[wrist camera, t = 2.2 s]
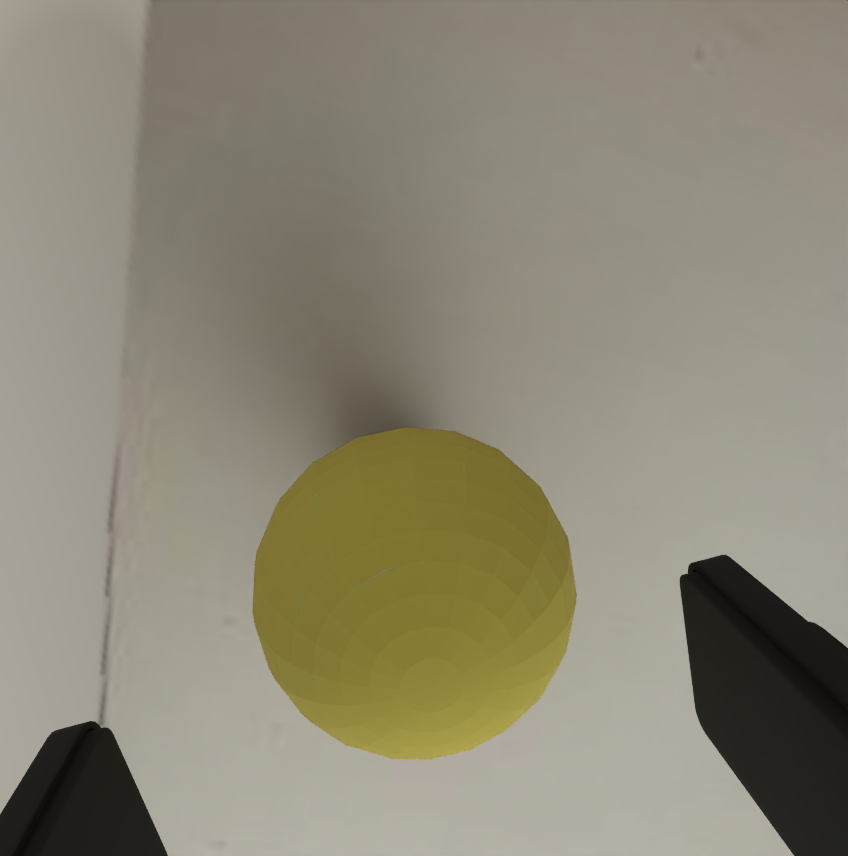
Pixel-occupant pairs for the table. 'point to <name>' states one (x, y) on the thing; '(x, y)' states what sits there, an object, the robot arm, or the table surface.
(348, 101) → the table surface
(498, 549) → the light bulb
